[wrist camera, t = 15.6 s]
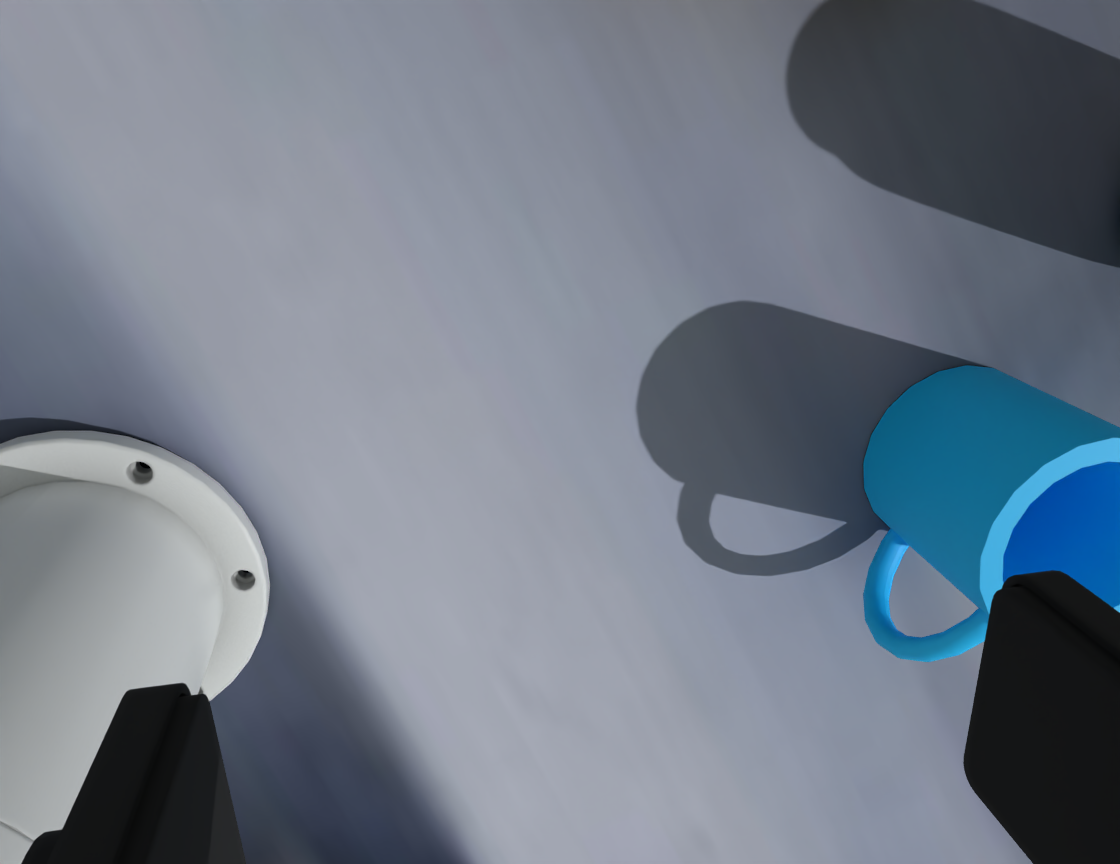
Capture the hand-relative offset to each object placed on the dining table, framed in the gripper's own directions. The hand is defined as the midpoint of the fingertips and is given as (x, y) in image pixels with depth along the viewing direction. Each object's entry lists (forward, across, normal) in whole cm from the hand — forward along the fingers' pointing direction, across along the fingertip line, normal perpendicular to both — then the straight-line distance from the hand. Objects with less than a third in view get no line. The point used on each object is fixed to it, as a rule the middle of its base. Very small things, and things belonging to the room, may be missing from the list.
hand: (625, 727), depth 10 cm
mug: (+24, -19, +10) cm, 32 cm away
